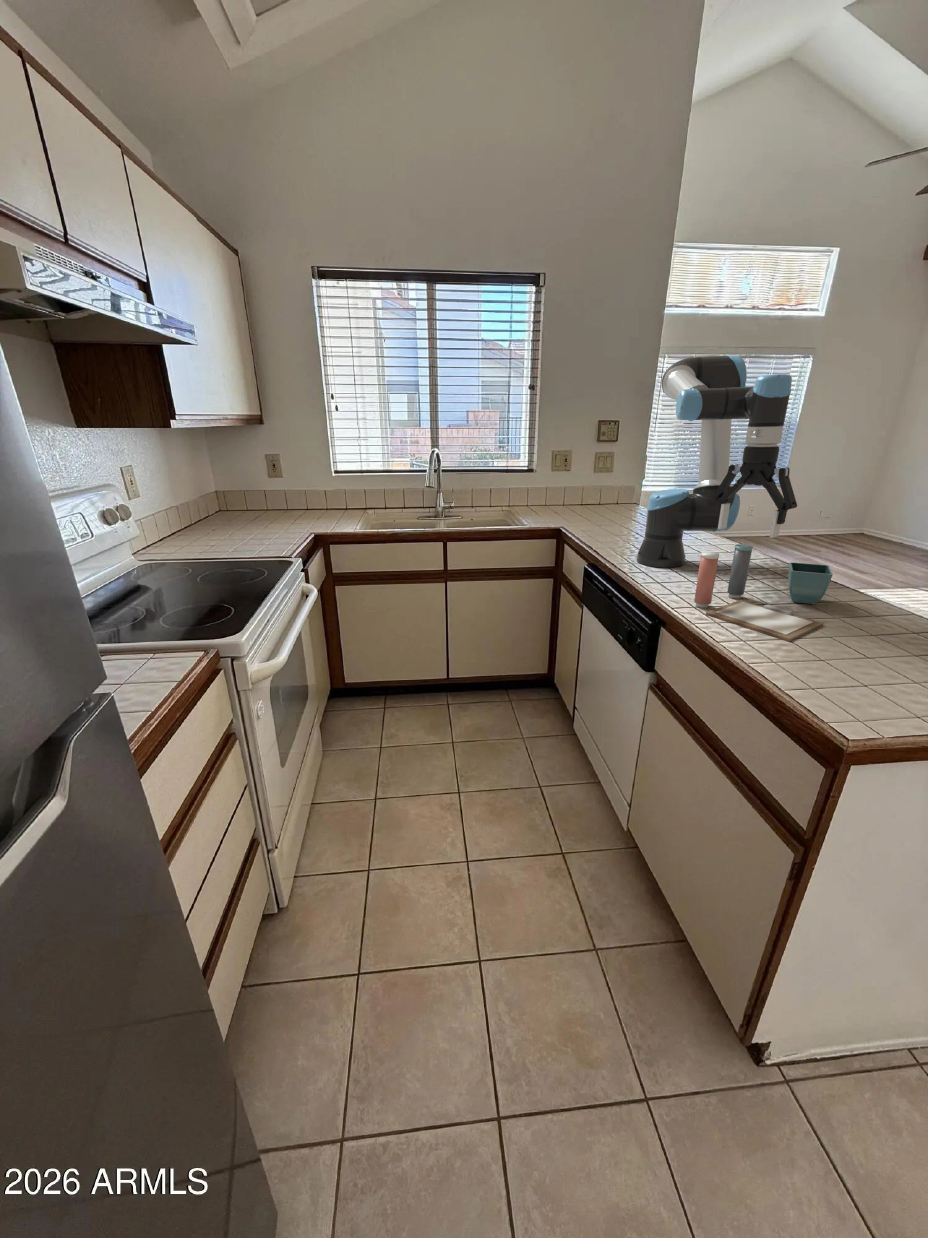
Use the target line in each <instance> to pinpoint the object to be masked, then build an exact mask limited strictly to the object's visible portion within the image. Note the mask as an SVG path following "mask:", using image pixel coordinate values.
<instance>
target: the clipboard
mask: <svg viewBox="0 0 928 1238" xmlns="http://www.w3.org/2000/svg"><path fill="white" fill-rule="evenodd" d="M793 612H794V611H793V610H789V609H786V608H782V607H779V606H775V605H771V604H770V603H768V604H765V605H762V604H761V605H760V604H757V603H754V602H750V601H747V600H742V599H737V601H736V600H735V601H733V602H729V603H727V604H725V605H722V606H720V607H716V608H713V609H710V610H708V611H705V615H706V616H709V617H711V618H715V619H719V620H721V621H724V622H727V623H730V624H734V625H737V626H740V627H743V628H746V629H750V630H752V631H755V632H758V633H761V634H763V635H767V636H771V637H772V638H773V637H774V638H776V639H780V640H783V641H786V642H791V641H793V640H795V639H798V638H799V637H801V636H803V635H806V634H808V633H810V632H813V631H814V630H816V629H818V628H821V627H823V626H824V622H821V621H817V620H814V619H809V618H806V617H802V616H799V615H796V614H793Z"/></svg>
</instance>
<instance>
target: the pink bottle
mask: <svg viewBox="0 0 928 1238" xmlns="http://www.w3.org/2000/svg"><path fill="white" fill-rule="evenodd" d="M719 558H720V553H718V552H715V551H702V552H700V560H699V568H698V575H697V579H696V586H695V594H694V603H695V607H696V608H698V609H699V608H700V609H707V608H709V605H711V604H712V600H713V593H714V587H715V582H716V575H717V568H718V563H719Z"/></svg>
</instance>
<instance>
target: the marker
mask: <svg viewBox="0 0 928 1238" xmlns="http://www.w3.org/2000/svg"><path fill="white" fill-rule="evenodd" d="M753 547H754V546H752V545H750V544H743V543H742V544H741V543H740V544H739V543H738V544H735V546H734V551H733V556H732V557H733V558H732V562H731V569H730V574H729V580H728V586H727V594H728V597H729V598H731V599H734V600H741V599H742V596H743V595H744V594H745V589H746V583H747V580H748V573H749V568H750V563H751V557H752V552H753Z"/></svg>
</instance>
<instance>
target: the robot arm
mask: <svg viewBox="0 0 928 1238" xmlns="http://www.w3.org/2000/svg"><path fill="white" fill-rule="evenodd" d="M747 372H748V371H747V365H746V362H745V359H743V358H742V357H741V356H739V355H728V354H726V355H718V356H715V355H714V356H697V357H696V356H693V357H692V356H691V357H687V358H686V357H685V358H683V359H680V360H678V361H676V362H675V363H673V364H671V365H670V366H669V367H668V368H667V369H666V371H665V372H664V373H663V375H662V378H661V381H660V383H661V384H660V385H661V390H662V392H663V393H664V395H665V396H666V397H667V398H670V399H672V400H675V402H676V404H675V414H676V418H677V420H679V421H689V422H693V421H701V424H700V425H701V426H700V441H699V442H700V447H699V464H698V484H696V485H695V487H694V488H693V489H692V493H690V492H689V490H688V489H686V488H668V489H663V490H658V491H655V492H653V493H652V494H650V496H649V498H648V503H647V507H646V509H647V510H646V511H647V512H646V522H645V532H644V537H643V540H642V543H641V545H640V547H639V550H638V552H637V553H636V554H637V555H636V561H637V563H639V564H641V565H643V566H644V565H645V566H647V567H653V568H679V567H681V566H684V565H685V563H686V553H685V548H684V542H683V536H684V532H713V533H715V532H724V531H725V532H726V531H728V530H730V529H731V528H733V525H734V524H735V523H736V520H737V518H738V515H739V512H740V507H741V499H740V497H741V496H740V494H738V492H739V491H740V490H742V489H743V487H745V486H746V485H748V486H752V485H754V486H759V487H760V486H762V487H763V488H764V489H765V490H766V491H767V493H768V495H769V496H770V498H771V500H772V502H774V504H775V507H776V508H777V510H774V512H773V516H772V522H771V527H770V532H769V536H768V537H769V538H772V539H773V538H777V537H779V536H780V535H779V534H780V529H781V525H783V524H785V523H786V518H787V514H788V513H787V512H788V511H789V510H791V509H795V508H798V502H797V500H796V496H795V494H794V490H793V487H792V486H793V485H792V482H791V479H790V470H791V469H790V467H788V466H786V467H779V468H777V462H778V459H779V453H780V449H781V448H780V447H779V446H778V445H780V444H781V443H782V437H783V432H784V425H785V421H786V417H787V416H786V415H787V411H788V406H789V401H790V396H791V393H792V383H793V378H792V376H791V374H785V373H784V374H783V373H782V374H781V373H780V374H766V375H760V376H758V377H756V379H755V382H754V386H746V382H747V378H748V376H747V374H748V373H747ZM732 420H748V424H747V432H746V437H745V444H746V445H747V446H744V449H743V453H742V464H741V465H739V464H737V463H736V464H730V457H731V455H730V454H731V437H732V436H731V435H732ZM739 473H740V475H741V476H740V477H739V479H737V480H736V482H735V483H734V484H733V485H732V483H733V481H734V480H735V478H736V476H737V475H738V474H739ZM774 476H776V477H777V478H778V482H779V486H780V489H779V488H778V487H777V483H776V481H775V480H774V478H773V477H774ZM780 490H781V491H780ZM781 492H782V493H781Z"/></svg>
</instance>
